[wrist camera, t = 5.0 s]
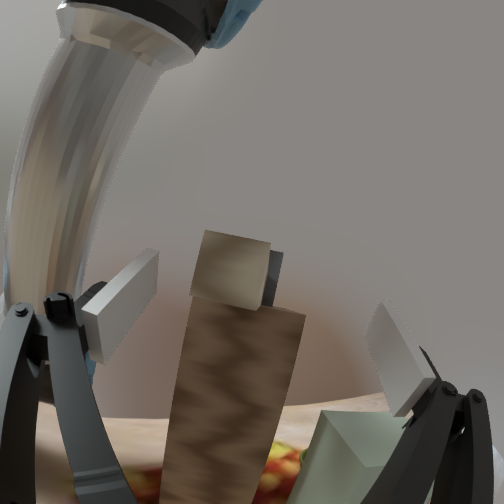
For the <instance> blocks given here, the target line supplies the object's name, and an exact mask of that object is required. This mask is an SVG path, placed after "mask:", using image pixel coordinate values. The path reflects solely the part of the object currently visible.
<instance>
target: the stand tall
mask: <svg viewBox="0 0 504 504" xmlns="http://www.w3.org/2000/svg"><path fill="white" fill-rule="evenodd" d="M305 317H306V315H303V314H299V313H297V312H293V311H290V310H287V309H284V308H279V307H274V306H272V307H269V306H264V305H260V306H259V308H258V309H257V310H256V311H254V310H250V309H245V308H241V307H236V306H232V305H228V304H223V303H219V302H215V301H211V300H207V299H203V298H199V297H195V296H193V299H192V303H191V308H190V313H189V318H188V322H187V327H186V332H185V337H184V341H183V347H182V352H181V357H180V362H179V368H178V373H177V379H176V384H175V390H174V395H173V401H172V408H171V413H170V420H169V426H168V433H167V440H166V447H165V454H164V462H163V470H162V478H161V487H160V496H159V504H251V503H252V501H253V498H254V495H255V493H256V490H257V487H258V484H259V482H260V479H261V476H262V473H263V470H264V467H265V464H266V461H267V458H268V455H269V452H270V449H271V446H272V443H273V439H274V436H275V433H276V430H277V426H278V423H279V420H280V416H281V413H282V409H283V406H284V402H285V399H286V395H287V391H288V388H289V384H290V380H291V376H292V372H293V368H294V364H295V360H296V356H297V352H298V348H299V344H300V340H301V335H302V331H303V327H304V322H305Z"/></svg>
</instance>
